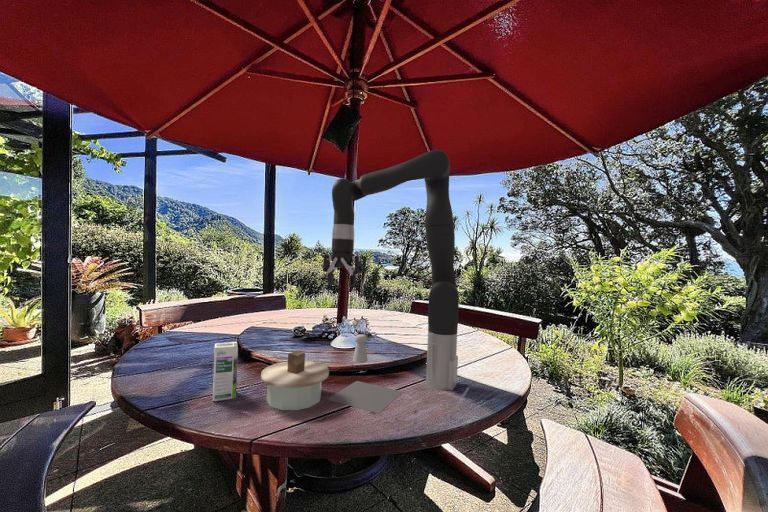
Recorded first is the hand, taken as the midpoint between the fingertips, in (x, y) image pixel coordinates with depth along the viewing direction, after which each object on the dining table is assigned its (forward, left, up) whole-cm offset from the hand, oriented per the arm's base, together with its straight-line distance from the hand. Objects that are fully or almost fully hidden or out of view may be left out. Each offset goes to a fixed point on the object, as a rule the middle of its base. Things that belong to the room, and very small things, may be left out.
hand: (341, 285), depth 114 cm
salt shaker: (-6, -5, -30) cm, 31 cm away
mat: (-18, +12, -30) cm, 37 cm away
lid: (-2, +24, -23) cm, 33 cm away
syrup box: (+16, +32, -30) cm, 47 cm away
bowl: (-2, +24, -30) cm, 39 cm away
